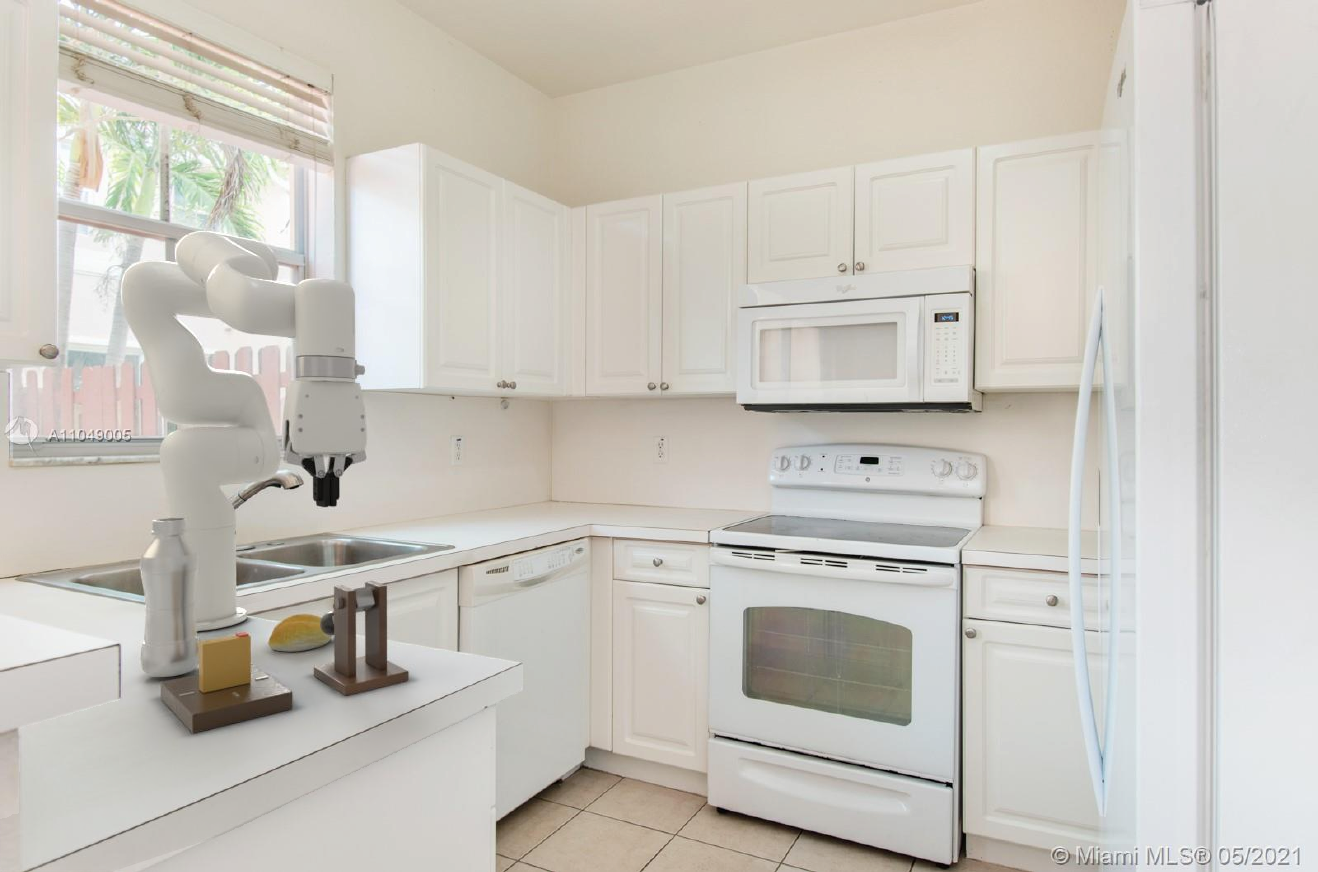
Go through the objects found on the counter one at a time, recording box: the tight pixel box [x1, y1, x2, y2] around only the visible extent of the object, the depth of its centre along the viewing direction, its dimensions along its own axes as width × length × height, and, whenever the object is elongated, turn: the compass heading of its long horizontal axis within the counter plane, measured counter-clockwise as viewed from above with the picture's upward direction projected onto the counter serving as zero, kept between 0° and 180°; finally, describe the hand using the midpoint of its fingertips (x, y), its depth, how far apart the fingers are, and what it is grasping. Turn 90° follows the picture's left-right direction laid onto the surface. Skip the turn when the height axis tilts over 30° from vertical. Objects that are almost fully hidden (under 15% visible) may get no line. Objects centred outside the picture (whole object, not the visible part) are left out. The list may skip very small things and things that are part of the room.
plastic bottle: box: [139, 517, 200, 678], centre depth 99 cm, size 6×7×20 cm
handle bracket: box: [313, 580, 410, 696], centre depth 98 cm, size 10×8×12 cm
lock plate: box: [160, 663, 293, 734], centre depth 89 cm, size 14×10×2 cm
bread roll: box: [268, 613, 333, 653], centre depth 113 cm, size 8×9×4 cm
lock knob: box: [198, 631, 252, 693], centre depth 89 cm, size 5×2×6 cm, turn 134°
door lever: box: [320, 586, 375, 636], centre depth 101 cm, size 13×3×3 cm, turn 44°
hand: (326, 505), depth 106 cm, fingers closed
